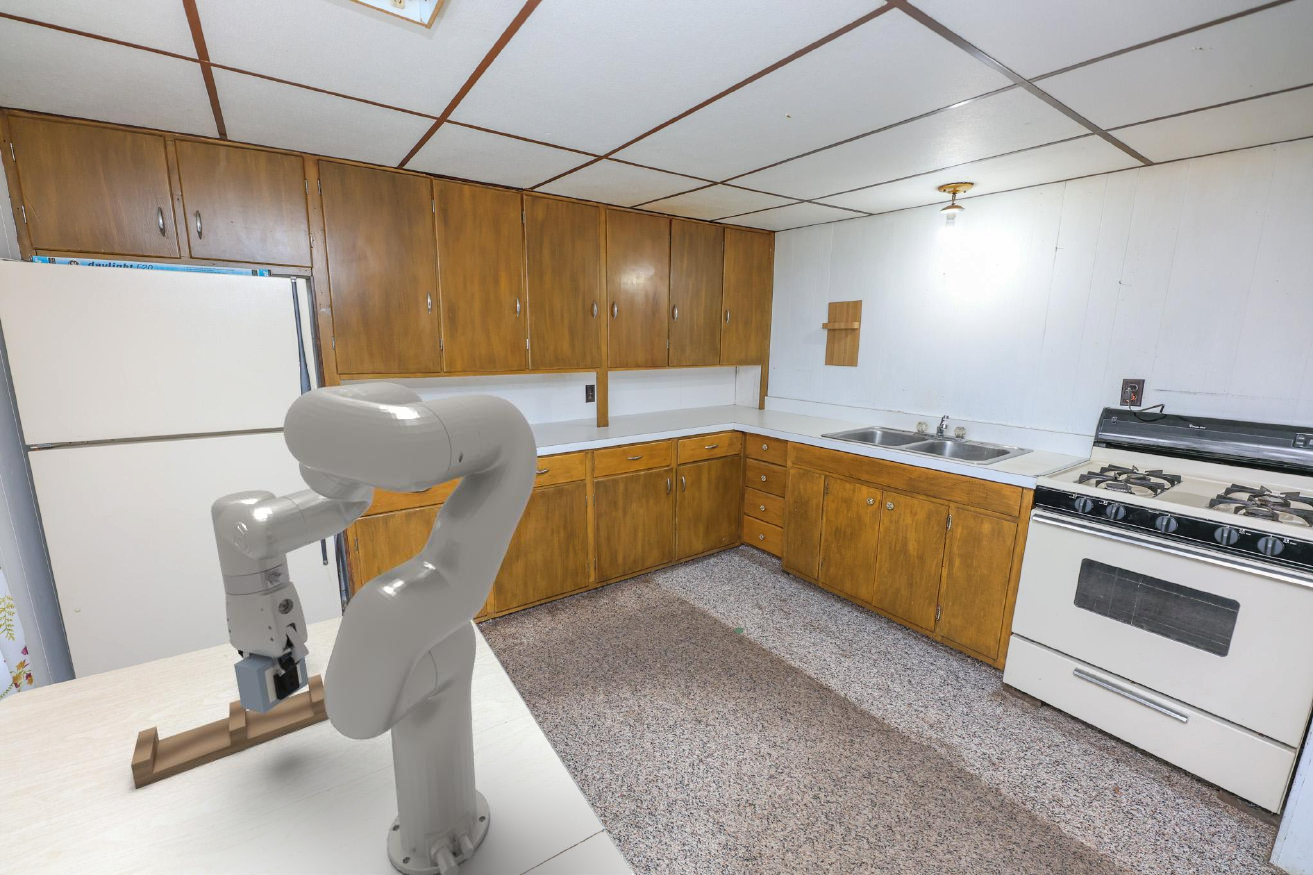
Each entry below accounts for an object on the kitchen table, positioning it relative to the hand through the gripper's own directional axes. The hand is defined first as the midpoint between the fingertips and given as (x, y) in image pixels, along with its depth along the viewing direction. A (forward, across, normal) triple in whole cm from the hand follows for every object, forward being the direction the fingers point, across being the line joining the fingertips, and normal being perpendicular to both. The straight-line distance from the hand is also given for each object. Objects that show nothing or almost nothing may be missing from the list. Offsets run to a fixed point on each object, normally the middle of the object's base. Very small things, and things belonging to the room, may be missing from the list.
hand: (275, 689), depth 80 cm
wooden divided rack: (+12, +12, -2) cm, 17 cm away
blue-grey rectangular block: (+1, 0, 0) cm, 1 cm away
